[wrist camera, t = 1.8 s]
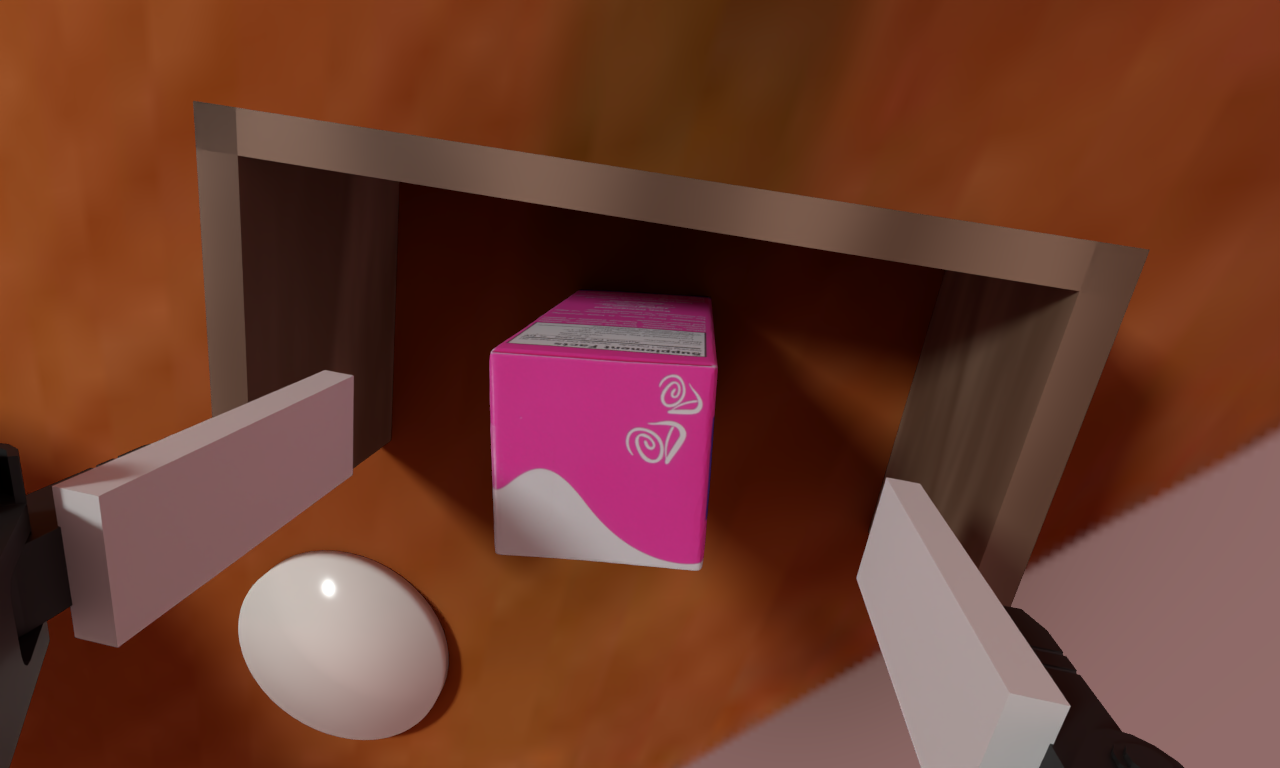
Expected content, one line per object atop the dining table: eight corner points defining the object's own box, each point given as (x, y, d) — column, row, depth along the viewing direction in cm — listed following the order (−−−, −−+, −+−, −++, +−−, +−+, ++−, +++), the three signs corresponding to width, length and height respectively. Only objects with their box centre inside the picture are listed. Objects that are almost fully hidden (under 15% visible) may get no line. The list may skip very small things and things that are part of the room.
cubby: (366, 435, 29) (219, 534, 20) (372, 134, 25) (193, 100, 16) (895, 536, 27) (977, 691, 19) (990, 231, 23) (1150, 249, 15)
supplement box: (708, 427, 27) (702, 583, 16) (573, 416, 28) (480, 559, 17) (718, 293, 25) (720, 365, 14) (575, 285, 26) (472, 348, 15)
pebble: (253, 703, 35) (242, 715, 34) (245, 531, 31) (233, 539, 31) (443, 746, 34) (436, 759, 33) (455, 574, 31) (448, 584, 30)
